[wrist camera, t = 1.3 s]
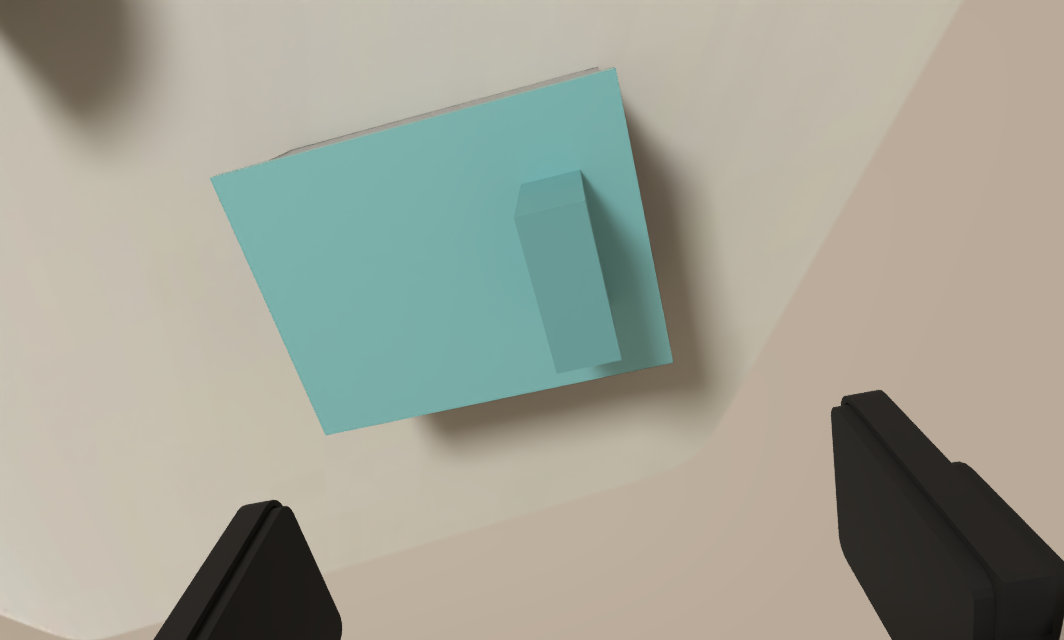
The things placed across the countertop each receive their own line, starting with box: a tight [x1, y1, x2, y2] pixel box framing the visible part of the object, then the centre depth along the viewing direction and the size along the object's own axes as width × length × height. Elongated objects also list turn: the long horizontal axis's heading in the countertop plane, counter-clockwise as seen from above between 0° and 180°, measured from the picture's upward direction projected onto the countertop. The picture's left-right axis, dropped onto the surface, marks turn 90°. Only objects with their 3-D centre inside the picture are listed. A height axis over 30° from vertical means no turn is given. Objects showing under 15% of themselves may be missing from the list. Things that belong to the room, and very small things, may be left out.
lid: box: [210, 67, 673, 435], centre depth 27 cm, size 17×13×7 cm
